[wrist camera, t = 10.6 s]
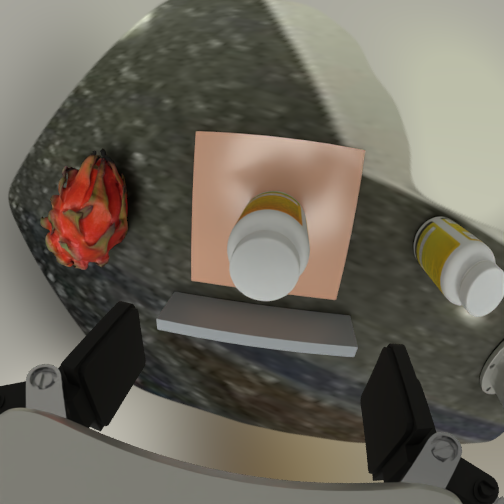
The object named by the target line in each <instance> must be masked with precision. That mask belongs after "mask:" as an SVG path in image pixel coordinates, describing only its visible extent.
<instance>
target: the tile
mask: <svg viewBox="0 0 504 504" xmlns="http://www.w3.org/2000/svg"><path fill="white" fill-rule="evenodd" d="M364 156H365V150H362V149H356V148H351V147H345V146H339V145H333V144H327V143H321V142H314V141H307V140H299V139H291V138H283V137H274V136H264V135H253V134H241V133H226V132H207V131H196V138H195V155H194V175H193V201H192V250H191V281H197V282H204V283H210V284H217V285H224V286H231V287H236V286H235V285H234V283H233V281H232V279H231V276H230V271H229V264H230V263H229V259H228V254H227V244H228V239H229V236H230V233H231V231H232V229H233V228H234V226H235V224H236V222H237V221H238V219H239V217H240V216H241V214H242V212H243V210H244V209H245V207H246V206H247V204H248V203H249V202H250V201H251V200H252V199H253V198H254V197H255V196H257V195H259V194H261V193H263V192H268V191H280V192H284V193H286V194H288V195H290V196H292V197H293V198H295V199H296V200H297V201H298V202H299V204H300V205H301V206H302V208H303V210H304V213H305V216H306V222H307V229H308V237H309V245H310V254H309V260H308V263H307V266H306V268H305V270H304V271H303V273H302V274H301V275H300V276H299V279H298V281H297V283H296V285H295V287H294V288H293V289H292V291H291V292H289V293H288V294H290V295H298V296H306V297H314V298H323V299H331V300H336V298H337V294H338V290H339V286H340V282H341V277H342V273H343V269H344V264H345V260H346V255H347V251H348V246H349V241H350V237H351V232H352V227H353V222H354V216H355V211H356V205H357V200H358V194H359V188H360V182H361V176H362V169H363V163H364Z"/></svg>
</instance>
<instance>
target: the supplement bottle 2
mask: <svg viewBox="0 0 504 504" xmlns="http://www.w3.org/2000/svg"><path fill="white" fill-rule="evenodd" d="M414 254H415V258H416V260H417V261H418V263H419V265H420V266H421V267H422V268H423V269H424V271H425V272H426V273H427V274H428V276H429V277H430V278H431V279H432V281H433V282H434V283H435V284H436V286H437V287H438V288H439V290H440V291H441V292H442V293H443V295H444V296H445V297H446V298H447V299H448V300H449V301H450V302H452V303H453V304H456V305H463V307H464V308H465V309H466V310H467V311H468V313H469V314H471V315H472V316H475V317H480V316H484V315H487V314H488V313H490V312H491V311H493V310H494V309H495V308H496V307H497V306H498V304H499V303H500V302H501V300H502V298H503V296H504V272H503V270H502V269H500V268H499V267H498V266H497V265H496V263H495V258H494V255H493V253H492V251H491V250H490V248H489V247H488V246H487V245H486V244H484V243H483V242H482V241H480V240H479V239H478V238H476V237H475V236H474V235H472V234H471V233H469V232H468V231H467V230H465V229H464V228H462V227H461V226H460V225H458V224H457V223H455V222H454V221H452V220H451V219H449V218H446V217H434V218H432V219H430V220H428V221H426V222H425V223H424V224H423V225H422V226H421V227H420V229H419V230H418V232H417V234H416V236H415V240H414Z"/></svg>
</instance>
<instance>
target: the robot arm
mask: <svg viewBox="0 0 504 504" xmlns="http://www.w3.org/2000/svg"><path fill="white" fill-rule="evenodd" d="M144 366H145V353H144V347H143V341H142V335H141V328H140V321H139V313H138V310H137V309H136V308H135V306H134V305H133V304H130V303H126V302H122V301H119V302H118V303H117V304H116V305H115V306H114V307H113V308H112V309H111V310H110V311H109V312H108V313H107V314H106V315H105V316H104V317H103V318H102V319H101V321H100V322H99V323H98V324H97V325H96V326H95V327H94V328H93V329H92V330H91V331H90V332H89V333H88V334H87V335H86V337H85V338H84V339H83V340H82V341H81V342H80V343H79V344H78V345H77V346H76V347H75V349H74V350H73V351H72V352H71V353H70V354H69V355H68V356H67V357H66V359H65V360H64V361H63V362H62V363H61V366H60V367H59V368H57V367H55V366H54V365H50V364H42V365H38V366H36V367H34V368H33V369H31V370H30V371H29V373H28V375H27V377H26V381H25V382H20V383H15V384H10V385H4V386H0V504H504V498H503V497H501V498H499V497H498V493H499V487H498V484H497V482H496V480H495V479H494V478H493V477H492V476H490V475H489V474H487V473H485V472H483V471H482V470H481V469H479V468H477V467H476V466H474V465H472V464H471V463H469V462H468V461H466V460H465V459H463V458H461V454H462V447H461V444H460V442H459V441H458V439H457V438H456V437H455V436H453V435H452V434H449V433H447V432H438V433H436V430H435V426H434V423H433V420H432V416H431V413H430V410H429V407H428V404H427V401H426V398H425V395H424V392H423V389H422V386H421V383H420V381H419V380H418V379H417V377H416V375H415V372H414V369H413V366H412V364H411V361H410V358H409V356H408V353H407V350H406V348H405V346H404V345H403V344H389V345H388V346H387V347H384V348H383V349H382V351H381V354H380V356H379V359H378V361H377V363H376V365H375V368H374V370H373V372H372V374H371V376H370V379H369V381H368V383H367V385H366V387H365V389H364V391H363V393H362V396H361V409H362V417H363V425H364V433H365V442H366V452H367V462H368V471H369V473H371V474H372V475H373V481H377V480H384V483H316V482H300V481H288V480H278V479H269V478H262V477H255V476H248V475H243V474H237V473H231V472H226V471H221V470H216V469H211V468H207V467H203V466H199V465H195V464H191V463H187V462H183V461H179V460H176V459H172V458H169V457H166V456H162V455H159V454H156V453H153V452H149V451H147V450H143V449H141V448H138V447H135V446H132V445H129V444H127V443H124V442H121V441H119V440H116V439H114V438H111V437H108V436H106V435H103V434H101V433H99V432H96V431H94V430H92V429H89V427H92V428H94V429H96V430H99V431H101V430H102V429H103V427H104V426H107V425H109V423H110V422H111V420H112V418H113V417H114V415H115V414H116V412H117V410H118V409H119V407H120V405H121V404H122V402H123V400H124V399H125V397H126V395H127V394H128V392H129V391H130V389H131V387H132V386H133V384H134V382H135V381H136V379H137V378H138V376H139V374H140V373H141V371H142V370H143V368H144ZM480 386H481V388H482V390H483V391H484V392H485V393H487V394H497V396H498V398H499V400H500V402H501V404H502V406H503V408H504V341H503V342H502V343H501V344H500V345H499V346H498V347H497V348H496V349H495V350H494V352H493V353H492V354H491V356H490V357H489V359H488V360H487V362H486V363H485V365H484V367H483V369H482V372H481V375H480Z"/></svg>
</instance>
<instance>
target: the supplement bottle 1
mask: <svg viewBox="0 0 504 504" xmlns="http://www.w3.org/2000/svg"><path fill="white" fill-rule="evenodd" d="M227 254H228V259H229V263H230V264H229V271H230V276H231V279H232V281H233V283H234V285H235V286H236V287H237V289H238V290H239V291H240V292H242V293H243V294H244V295H246V296H248V297H250V298H252V299H255V300H259V301H273V300H277V299H280V298H282V297H284V296H286V295H287V294H288V293H289V292H291V291H292V289H293V288H294V287H295V285H296V283H297V281H298V279H299V276H300V275H301V274H302V273H303V271H304V270H305V268H306V266H307V263H308V260H309V254H310V245H309V237H308V229H307V222H306V216H305V213H304V210H303V208H302V206H301V205H300V204H299V202H298V201H297V200H296V199H295V198H293V197H292V196H290V195H288V194H286V193H284V192H280V191H268V192H263V193H261V194H259V195H257V196H255V197H254V198H253V199H252V200H251V201H250V202H249V203H248V204H247V206H246V207H245V209H244V210H243V212H242V214H241V216H240V217H239V219H238V221H237V222H236V224H235V226H234V228H233V229H232V231H231V233H230V236H229V239H228V244H227Z"/></svg>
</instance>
